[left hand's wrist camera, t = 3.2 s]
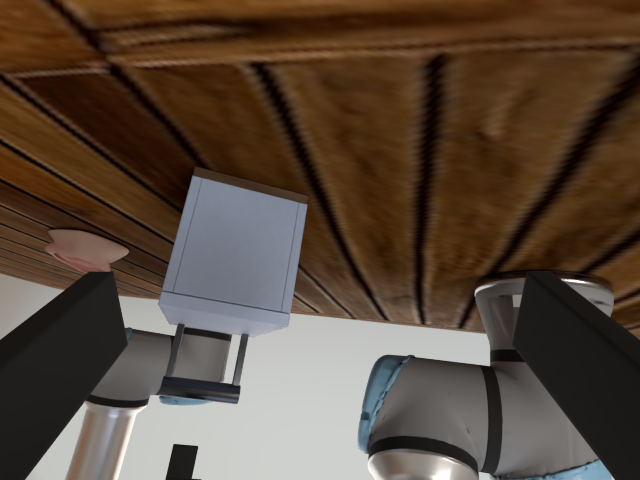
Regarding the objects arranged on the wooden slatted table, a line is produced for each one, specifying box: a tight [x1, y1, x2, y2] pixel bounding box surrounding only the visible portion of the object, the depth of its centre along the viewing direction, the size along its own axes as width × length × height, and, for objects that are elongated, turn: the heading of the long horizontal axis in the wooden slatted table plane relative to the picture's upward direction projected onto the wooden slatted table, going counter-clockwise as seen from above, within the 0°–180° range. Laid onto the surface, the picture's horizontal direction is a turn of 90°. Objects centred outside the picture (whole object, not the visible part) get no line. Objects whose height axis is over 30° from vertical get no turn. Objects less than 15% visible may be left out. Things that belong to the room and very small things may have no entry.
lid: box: [158, 291, 290, 404], centre depth 36 cm, size 18×10×8 cm, turn 162°
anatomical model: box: [44, 229, 129, 274], centre depth 59 cm, size 13×4×12 cm
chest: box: [162, 167, 309, 314], centre depth 39 cm, size 17×10×10 cm, turn 162°
